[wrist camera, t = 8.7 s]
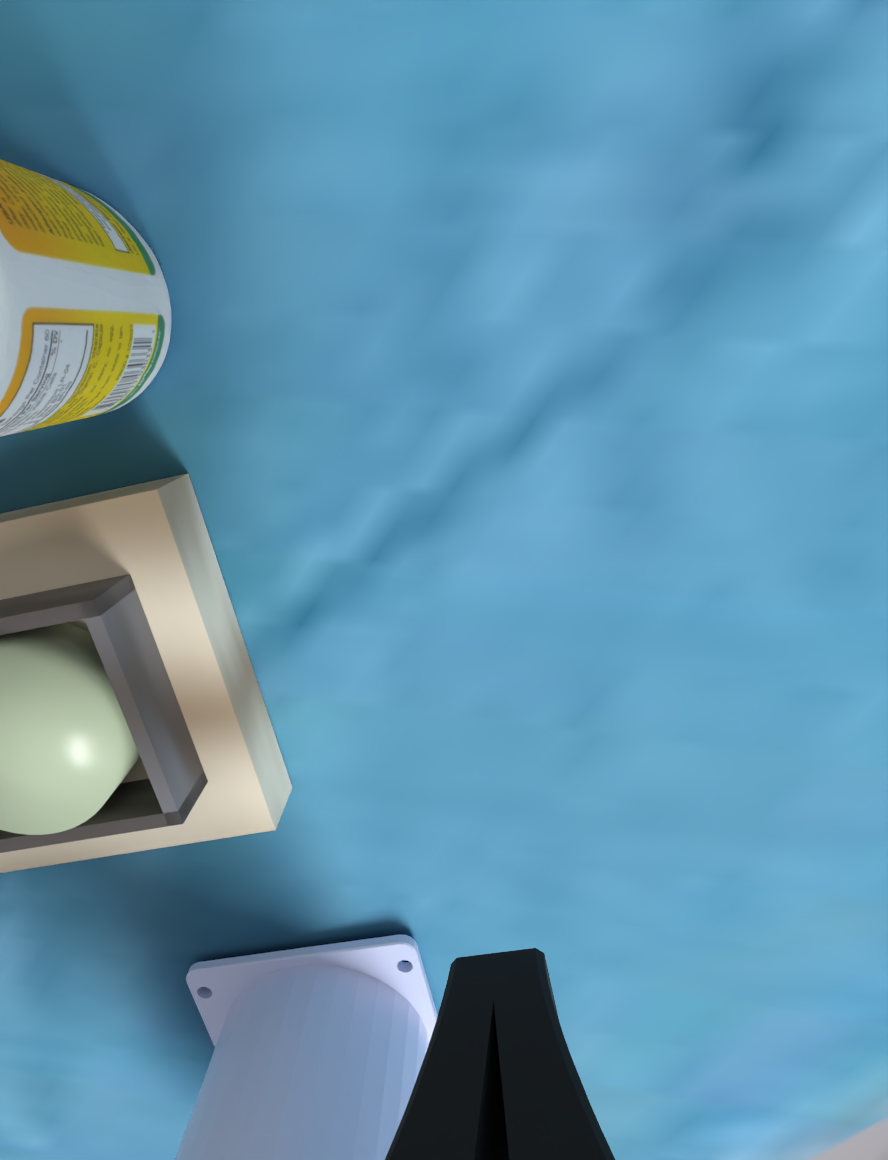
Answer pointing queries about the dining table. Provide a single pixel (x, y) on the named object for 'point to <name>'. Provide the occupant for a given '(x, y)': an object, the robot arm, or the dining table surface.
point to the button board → (148, 667)
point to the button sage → (57, 731)
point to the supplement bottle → (73, 304)
